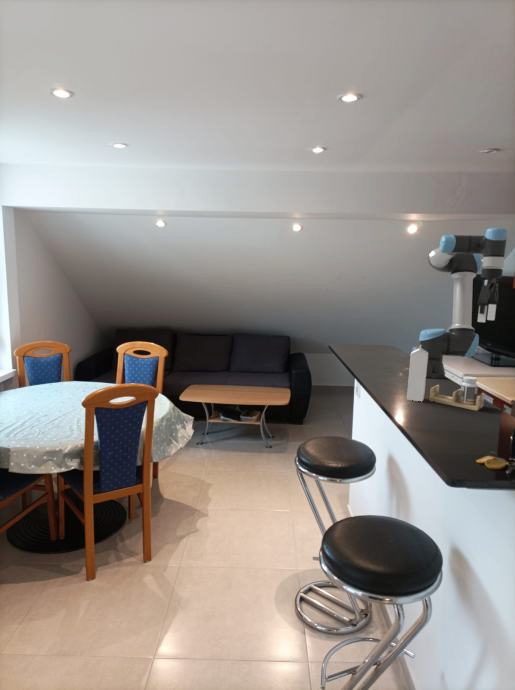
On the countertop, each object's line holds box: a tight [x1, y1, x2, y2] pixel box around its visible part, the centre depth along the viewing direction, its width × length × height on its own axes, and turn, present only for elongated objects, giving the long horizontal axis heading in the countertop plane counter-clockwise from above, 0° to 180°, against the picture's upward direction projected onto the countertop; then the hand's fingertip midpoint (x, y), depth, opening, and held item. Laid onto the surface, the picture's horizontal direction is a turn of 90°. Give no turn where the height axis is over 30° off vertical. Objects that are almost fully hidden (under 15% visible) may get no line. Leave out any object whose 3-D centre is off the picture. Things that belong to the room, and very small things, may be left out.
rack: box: [428, 384, 485, 411], centre depth 176 cm, size 8×18×5 cm, turn 49°
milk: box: [406, 345, 428, 403], centre depth 179 cm, size 6×6×22 cm
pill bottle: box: [460, 375, 479, 404], centre depth 173 cm, size 6×6×10 cm
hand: (486, 321), depth 183 cm, fingers open, 13 cm apart
